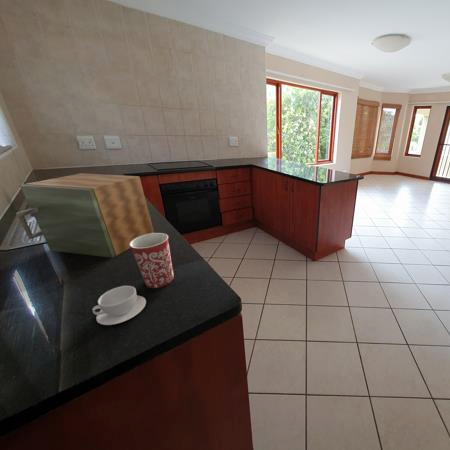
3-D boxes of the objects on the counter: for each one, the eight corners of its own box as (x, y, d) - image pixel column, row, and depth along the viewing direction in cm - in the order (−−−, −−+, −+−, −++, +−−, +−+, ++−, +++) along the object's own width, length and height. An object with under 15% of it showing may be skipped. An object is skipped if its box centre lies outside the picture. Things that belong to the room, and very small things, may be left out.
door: (98, 265, 76) (70, 194, 66) (33, 257, 80) (-2, 189, 70) (115, 256, 81) (92, 188, 72) (53, 248, 85) (24, 184, 76)
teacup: (140, 291, 65) (135, 277, 63) (151, 310, 58) (147, 295, 56) (93, 310, 58) (87, 295, 56) (100, 334, 52) (93, 317, 50)
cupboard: (116, 256, 82) (93, 188, 72) (54, 249, 86) (24, 183, 76) (154, 234, 98) (139, 176, 88) (100, 229, 102) (81, 173, 92)
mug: (173, 288, 66) (162, 245, 61) (137, 292, 64) (122, 249, 59) (183, 264, 77) (175, 226, 72) (153, 267, 76) (142, 228, 70)
